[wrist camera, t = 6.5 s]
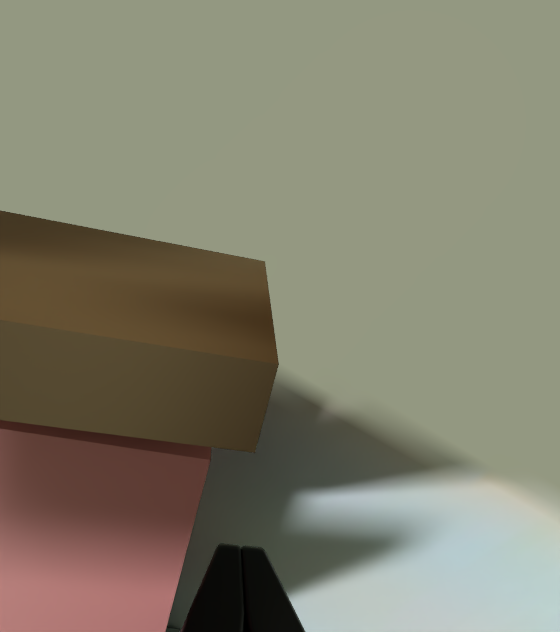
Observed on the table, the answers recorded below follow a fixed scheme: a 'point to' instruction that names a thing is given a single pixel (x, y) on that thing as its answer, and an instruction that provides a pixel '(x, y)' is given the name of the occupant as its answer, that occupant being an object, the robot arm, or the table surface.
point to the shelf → (132, 336)
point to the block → (93, 528)
